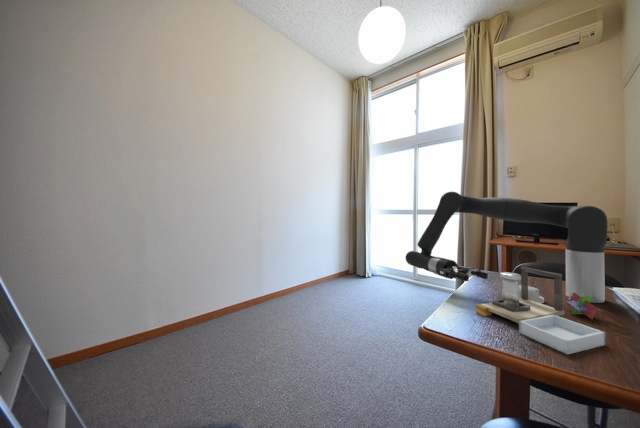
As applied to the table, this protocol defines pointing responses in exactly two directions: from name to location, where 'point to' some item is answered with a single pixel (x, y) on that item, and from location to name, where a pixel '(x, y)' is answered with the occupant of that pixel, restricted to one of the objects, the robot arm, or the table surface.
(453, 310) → the table surface
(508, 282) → the pin
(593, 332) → the tray
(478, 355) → the table surface
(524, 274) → the dolly
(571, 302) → the geometric puzzle
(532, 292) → the mechanical component
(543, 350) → the table surface
